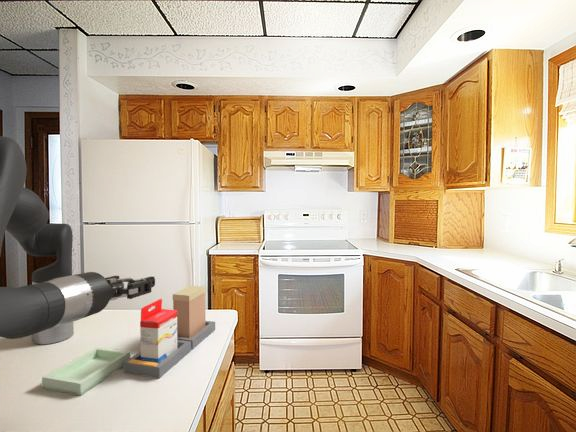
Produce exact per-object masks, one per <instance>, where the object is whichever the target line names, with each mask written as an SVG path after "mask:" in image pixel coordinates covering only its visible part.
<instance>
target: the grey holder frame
mask: <svg viewBox="0 0 576 432" xmlns="http://www.w3.org/2000/svg"><path fill="white" fill-rule="evenodd" d="M215 330H216V321H211V320H205V327H204V328H203V329H202V330H200V331H199V332H198V333H197V334H195V335H194V336H193V337H192V338H185V337H177V350H175V351H174V352H173V353H172V354H170V355H169V356H168V357H167V358H165V359H164V360H163V361H162V362H160V363H159V364H158V363H155V362H148V361H141V350H140V351H138V352H137V353H136V354H134V355H133V356H130V359H128V360H127V361H125V362H124V366H123V370H124V371H123V373H125V374H129V375H135V376H142V377H148V378H155V379H161V378H162V377H163V376H165V374H167V372H170V370H171V369H172V368H173V367H174V366H176V365H177V364H178V363H179V362H180V361H181V360H183V358H185V357H186V356H187V355H188V354H189V353H191V352H192V350H194V349H196V347H197V346H198V345H200V344H201V343H202V342H203V341H204V340H205V339H206V338H207V337H209V336H210V335H211V334H212V333H213V332H214V331H215Z"/></svg>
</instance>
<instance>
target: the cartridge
mask: <svg viewBox="0 0 576 432" xmlns="http://www.w3.org/2000/svg"><path fill="white" fill-rule="evenodd" d="M206 291H207V290H206V286H198V285H188V286H187V287H184V288H183V289H180V290H178V291H177V292H174V293H173V294H172V301H173V303H172V305H173V306H172V307H173V308H172V310H176V311H177V337H185V338H192V337H193V336H194V335H195V334H197V333H198V332H199V331H200V330H202V329H203V328H204V327H205V321H206Z"/></svg>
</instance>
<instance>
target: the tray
mask: <svg viewBox="0 0 576 432" xmlns="http://www.w3.org/2000/svg"><path fill="white" fill-rule="evenodd" d="M130 358H131V351H130V350H129V351H128V350H121V349H115V348H106V347H99V346H96V347H94V348H92V349H90V350H88V351H87V352H85V353H83V354H82V355H80V356H78V357H76V358H75V359H72V360H71V361H69V362H66V364H63V365H61V366H60V367H58V368H57V369H54V370H52V371H50V372H49V373H47V374H45V375H43V376H42V377H41V383H42V384H41V385H42V387H41V388H42V389H43V390H48V391H53V392H54V391H55V392H59V393H65V394H69V395H77V396H82V395H84V394H85V393H87V392H88V391H90V390H91V389H93V388H94V387H96V386H97V385H99V384H100V383H101V382H103V381H105V379H107V378H109V377H111V376H112V375H113V374H114V373H115V372H117V371H119V370H120V369H122V368H124V362H125V361H127V360H128V359H130Z"/></svg>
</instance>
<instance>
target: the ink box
mask: <svg viewBox="0 0 576 432" xmlns="http://www.w3.org/2000/svg"><path fill="white" fill-rule="evenodd" d="M162 303H163V298H159V299H157V300H155V301H153V302H151V303H149V304H147V305H145V306H142V307H141V309H140V321H139V323H140V324H139V326H140V327H139V328H140V329H139V330H140V332H139V333H140V351H141V361H148V362H155V363H158V364H159V363H160V362H162V361H163V360H164V359H165V358H167V357H168V356H169V355H170V354H172V353H173V352H174V351H175V350H177V311H176V310H173V309H169V308H168V309H165V308H163V307H162V306H163V304H162ZM152 307H154V308H153V309H151V308H152ZM149 309H150V310H149Z"/></svg>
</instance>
